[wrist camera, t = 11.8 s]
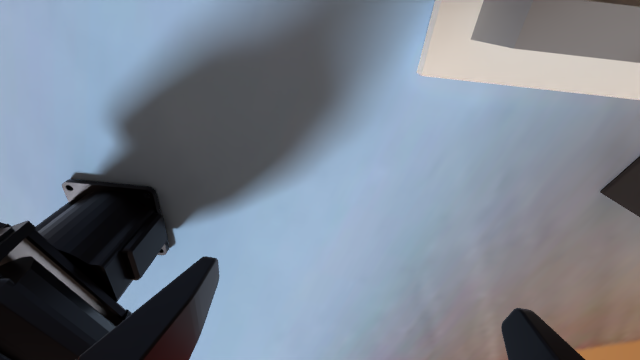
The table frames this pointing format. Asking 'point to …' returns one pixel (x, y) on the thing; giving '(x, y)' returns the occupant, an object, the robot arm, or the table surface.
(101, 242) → the robot arm
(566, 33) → the post socket
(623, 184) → the phone stand
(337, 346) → the table surface
